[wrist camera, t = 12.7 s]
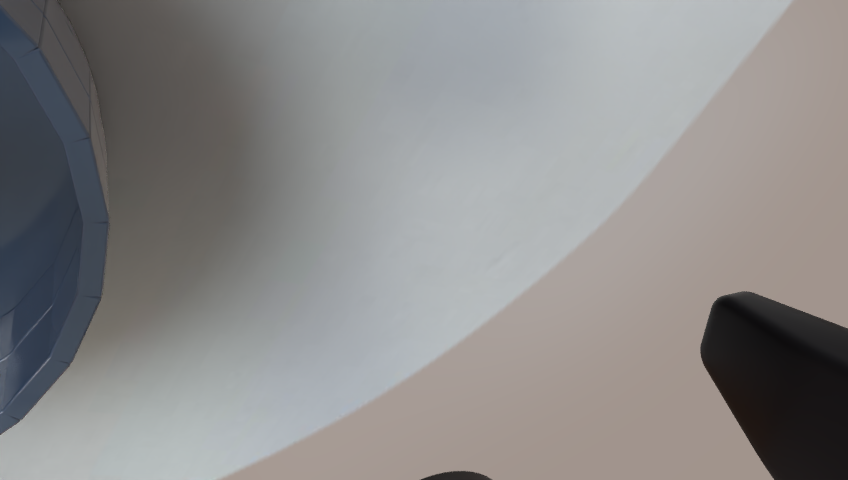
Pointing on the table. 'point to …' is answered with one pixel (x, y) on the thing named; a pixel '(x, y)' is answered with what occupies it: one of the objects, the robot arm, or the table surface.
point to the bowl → (46, 201)
